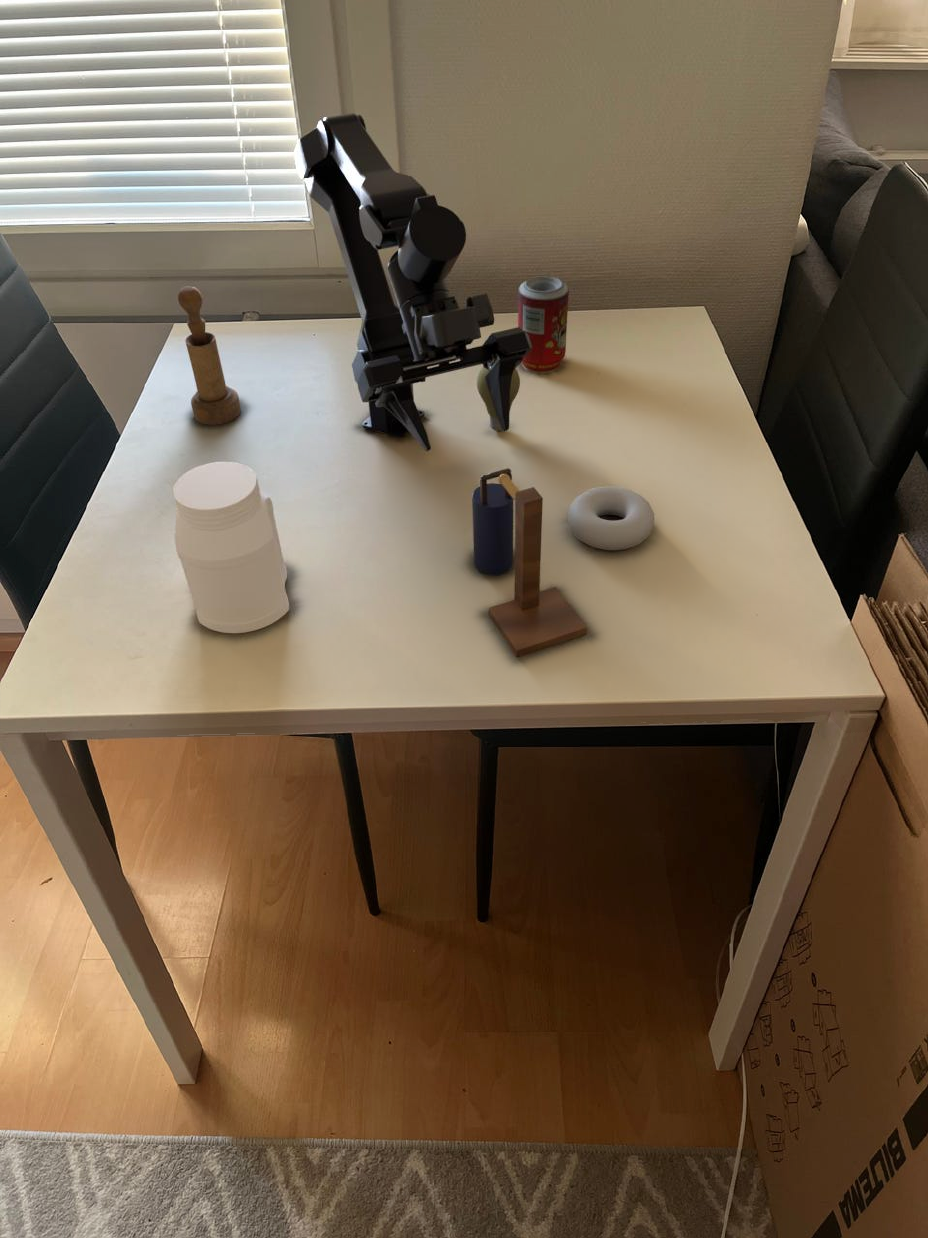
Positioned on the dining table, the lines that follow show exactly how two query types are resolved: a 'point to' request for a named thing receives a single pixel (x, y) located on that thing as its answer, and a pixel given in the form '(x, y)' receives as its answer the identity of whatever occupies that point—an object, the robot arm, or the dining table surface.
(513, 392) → the light bulb
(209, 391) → the mortar and pestle
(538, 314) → the soda can
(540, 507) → the hook stand
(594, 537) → the donut
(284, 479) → the dining table surface
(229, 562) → the jar
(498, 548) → the blue handled weight
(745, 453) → the dining table surface
